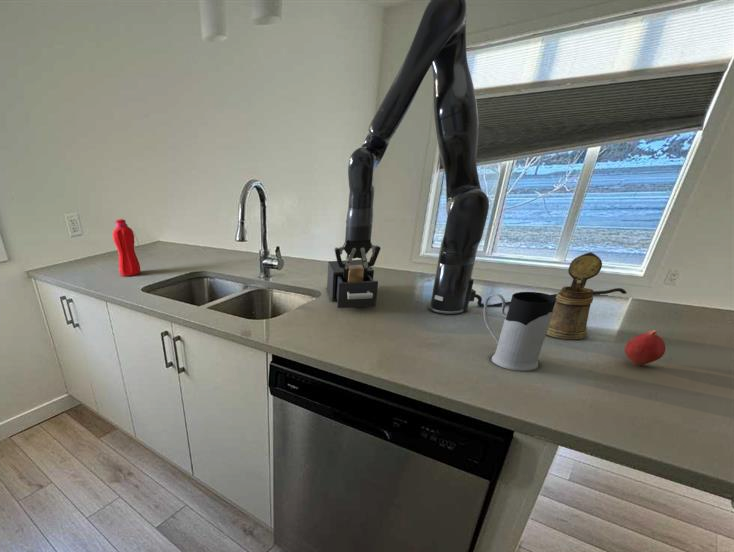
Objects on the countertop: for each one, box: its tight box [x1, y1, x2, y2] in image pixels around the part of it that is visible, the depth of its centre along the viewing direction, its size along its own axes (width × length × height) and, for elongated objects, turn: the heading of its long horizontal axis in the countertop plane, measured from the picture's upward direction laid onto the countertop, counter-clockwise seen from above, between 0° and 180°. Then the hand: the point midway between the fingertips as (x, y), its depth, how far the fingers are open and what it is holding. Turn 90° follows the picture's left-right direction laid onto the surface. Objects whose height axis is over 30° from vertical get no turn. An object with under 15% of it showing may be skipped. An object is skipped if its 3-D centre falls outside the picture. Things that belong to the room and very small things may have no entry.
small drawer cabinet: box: [326, 259, 375, 302], centre depth 140 cm, size 16×13×10 cm
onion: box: [624, 329, 666, 367], centre depth 83 cm, size 6×6×8 cm
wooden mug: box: [546, 251, 603, 340], centre depth 98 cm, size 9×14×18 cm, turn 139°
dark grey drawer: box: [335, 274, 379, 309], centre depth 129 cm, size 19×12×8 cm, turn 173°
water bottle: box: [112, 218, 141, 277], centre depth 189 cm, size 9×11×25 cm
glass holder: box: [483, 291, 557, 372], centre depth 89 cm, size 9×14×15 cm, turn 24°
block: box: [348, 265, 364, 282], centre depth 128 cm, size 4×4×4 cm
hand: (354, 279), depth 129 cm, fingers closed on block, 4 cm apart
